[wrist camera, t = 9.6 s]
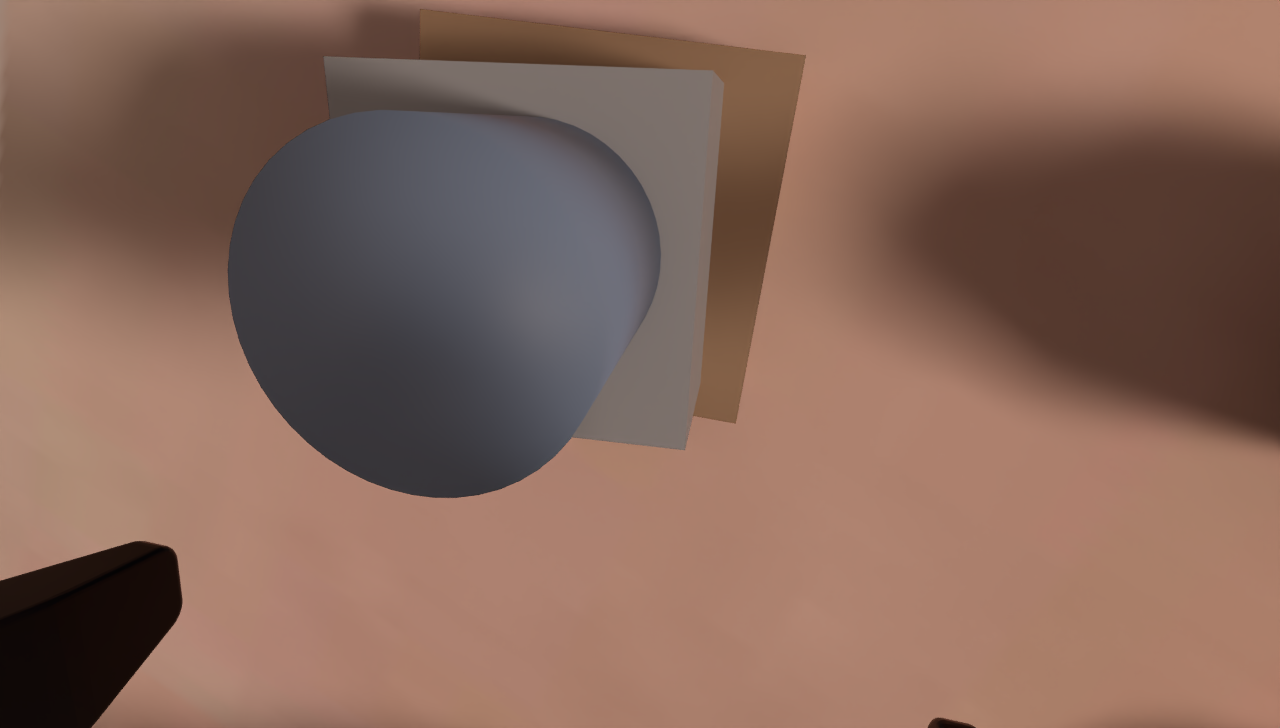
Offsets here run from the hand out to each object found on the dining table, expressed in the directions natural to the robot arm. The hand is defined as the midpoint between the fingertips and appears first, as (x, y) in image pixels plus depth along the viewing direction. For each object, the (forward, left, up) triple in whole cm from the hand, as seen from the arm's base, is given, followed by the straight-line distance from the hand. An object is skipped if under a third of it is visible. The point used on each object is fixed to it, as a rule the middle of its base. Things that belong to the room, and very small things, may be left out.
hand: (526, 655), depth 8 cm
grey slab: (+3, +2, -9) cm, 10 cm away
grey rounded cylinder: (+3, +2, -5) cm, 7 cm away
